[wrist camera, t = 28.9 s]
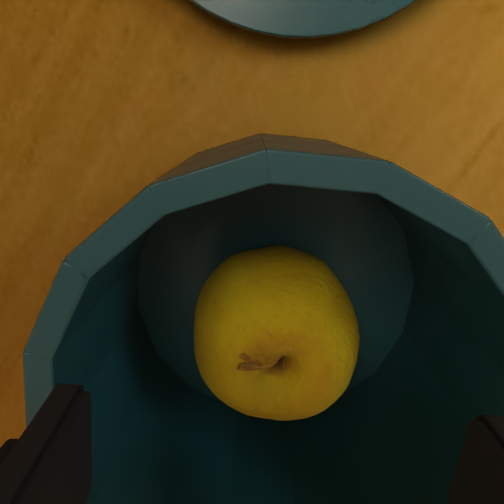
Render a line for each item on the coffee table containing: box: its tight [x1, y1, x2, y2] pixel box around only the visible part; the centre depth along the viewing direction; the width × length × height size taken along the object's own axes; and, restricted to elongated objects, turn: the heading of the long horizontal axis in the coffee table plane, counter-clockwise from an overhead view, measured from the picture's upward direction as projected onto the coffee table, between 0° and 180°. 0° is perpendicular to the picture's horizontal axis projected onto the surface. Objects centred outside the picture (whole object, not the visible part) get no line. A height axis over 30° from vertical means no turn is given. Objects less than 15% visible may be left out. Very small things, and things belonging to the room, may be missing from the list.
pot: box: [23, 133, 504, 504], centre depth 17 cm, size 15×15×10 cm
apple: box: [194, 246, 360, 421], centre depth 18 cm, size 6×6×8 cm
